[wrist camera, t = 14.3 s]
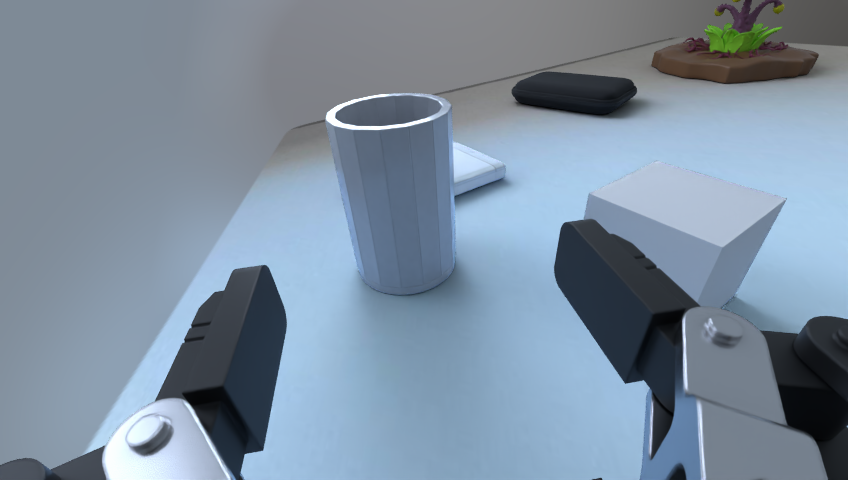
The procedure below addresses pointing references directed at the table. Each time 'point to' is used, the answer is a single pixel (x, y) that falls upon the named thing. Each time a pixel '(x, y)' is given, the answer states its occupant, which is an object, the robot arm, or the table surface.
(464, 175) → the hard drive
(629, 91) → the carrying case
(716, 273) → the white cube
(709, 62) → the plant
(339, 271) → the table surface
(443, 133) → the pot
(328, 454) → the table surface
